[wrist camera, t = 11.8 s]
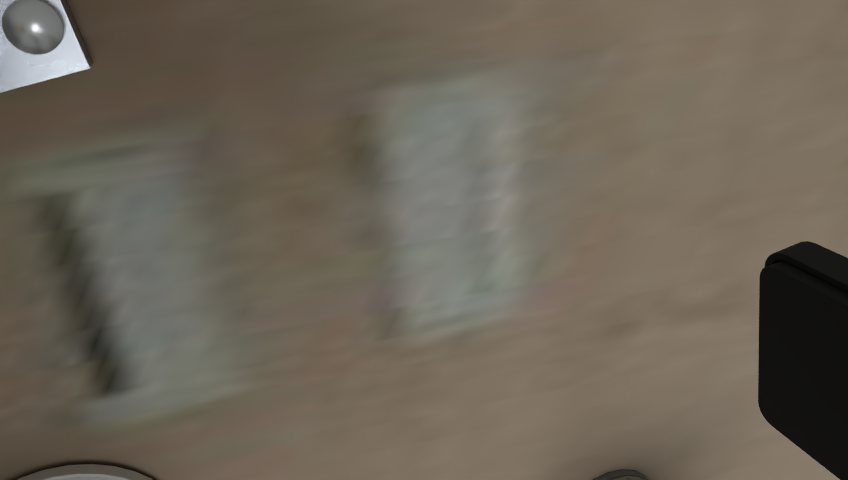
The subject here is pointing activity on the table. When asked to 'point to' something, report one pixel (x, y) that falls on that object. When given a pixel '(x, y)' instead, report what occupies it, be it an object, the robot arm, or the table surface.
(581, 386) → the table surface
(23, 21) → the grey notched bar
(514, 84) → the table surface
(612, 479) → the thermos
